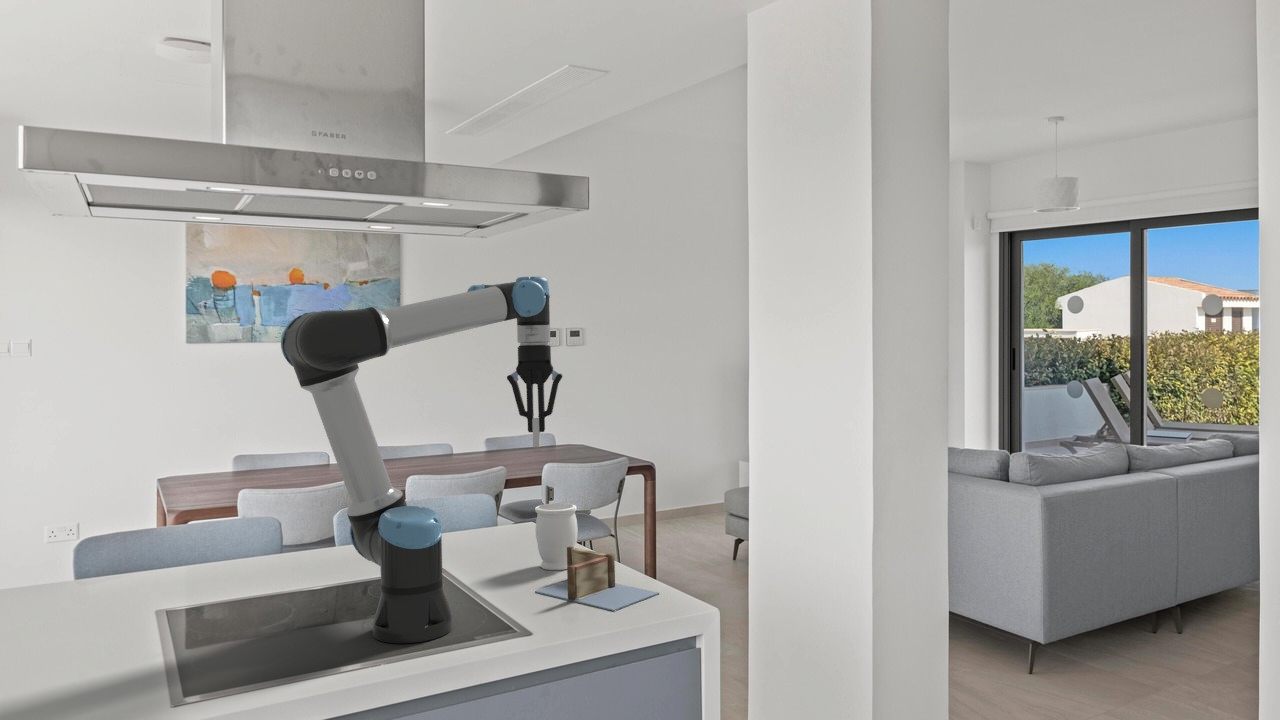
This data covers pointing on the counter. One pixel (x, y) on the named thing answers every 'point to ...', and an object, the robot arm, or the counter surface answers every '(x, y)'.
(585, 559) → the brown wall panel
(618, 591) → the card
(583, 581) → the swing panel
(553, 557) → the jar
